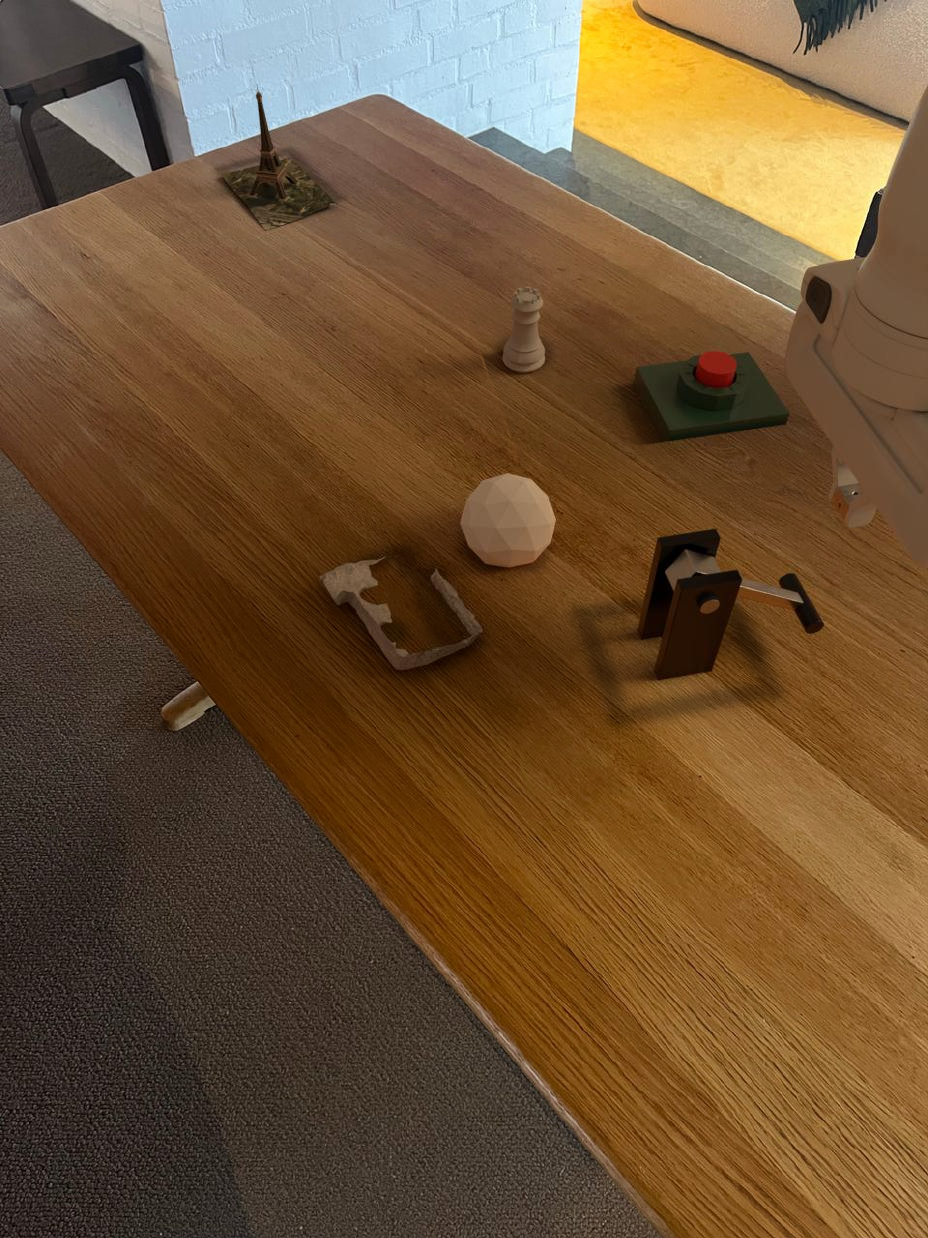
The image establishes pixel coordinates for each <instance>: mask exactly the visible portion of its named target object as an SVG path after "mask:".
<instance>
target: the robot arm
mask: <svg viewBox="0 0 928 1238" xmlns="http://www.w3.org/2000/svg"><path fill="white" fill-rule="evenodd" d="M877 214H878V215H877V234H876V238H875V241H874V244H873V245H872V247H871V249H870V251H869V252H868V254H867V255H866V256H865V257H857V258H856V257H855V258H851V259H849V258H848V259H843V260H838V261H832V262H827V263H826V262H825V263H822V264H818V265H813V266H810V267H809V266H808V267H807V269H806V270H805V271H804V274H803V277H802V281H801V285H800V297H801V298H802V301H800V303H799V304H798V307H797V309H796V311H795V314H794V318H793V321H792V323H791V328H790V330H789V334H788V339H787V342H786V347H785V352H784V368H785V375H786V379H787V381H788V382H789V384H790V385H791V386H792V388H793V389H794V391H795V392H796V394H797V395H798V396H799V398H800V399H801V401H802V402H803V404H804V405H805V407H806V408H807V409H808V411H809V412H810V414H811V415H812V417H813V419H815V421H816V423H817V424H818V425H819V427H820V428H821V430H822V431H823V433H824V434H825V436H826V437H827V438H828V440H829V442H830V443H831V444H832V446H833V447H832V449H831V467H832V469H831V470H832V471H831V472H832V481H833V482H832V485H831V488H830V490H829V493H828V496H827V498H828V500H829V501H830V502H831V503H830V504H832V505H833V507H834V508H835V510H836V511H837V513H838V515H839V516H840V518H841V520H842V521H843V523H844V524H845V526H846V527H847V528H848V529H854V528H859V527H864V526H867V525H869V524H870V523H871V522H872V520H873V518H874V516H875V514H876V512H877V511H878V513H879V514H880V516H881V517H882V518H883V520H884V522H885V523H886V525H888V527H889V528H890V530H891V531H892V533H893V534H894V536H895V537H896V539H897V541H898V542H899V543H900V545H901V546H902V548H903V550H905V551H906V553H907V555H908V556H909V558H910V559H911V561H912V562H913V564H914V565H915V566H916V567H918V568H920V569H923V570H924V569H927V570H928V84H927V85H926V86H925V89H924V91H923V92H922V95H921V97H920V99H919V101H918V104H917V105H916V108H915V110H914V112H913V114H912V117H911V119H910V121H909V124H908V126H907V128H906V131H905V133H904V135H903V138H902V141H901V143H900V145H899V148H898V150H897V153H896V156H895V159H894V161H893V164H892V167H891V169H890V173H889V175H888V178H887V181H886V184H885V187H884V189H883V193H882V196H881V199H880V202H879V207H878V213H877Z"/></svg>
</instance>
